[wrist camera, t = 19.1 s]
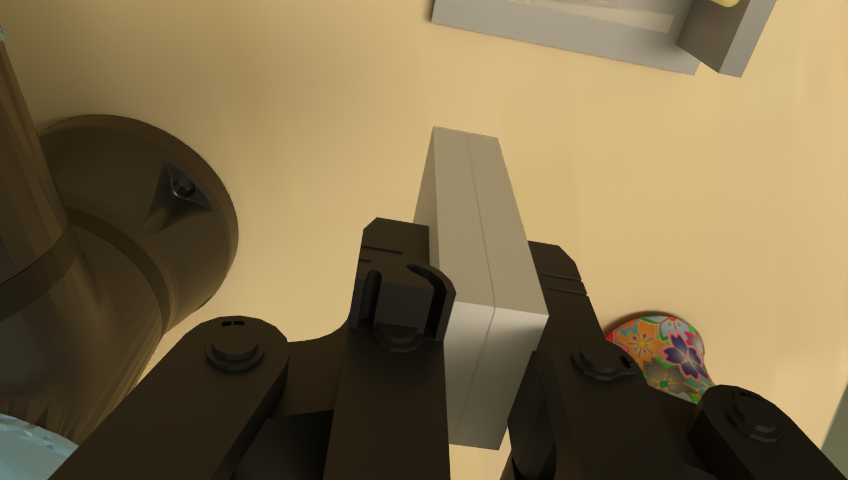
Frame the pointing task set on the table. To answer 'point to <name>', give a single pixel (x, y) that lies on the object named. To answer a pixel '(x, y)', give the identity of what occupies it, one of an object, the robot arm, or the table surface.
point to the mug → (666, 354)
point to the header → (624, 28)
